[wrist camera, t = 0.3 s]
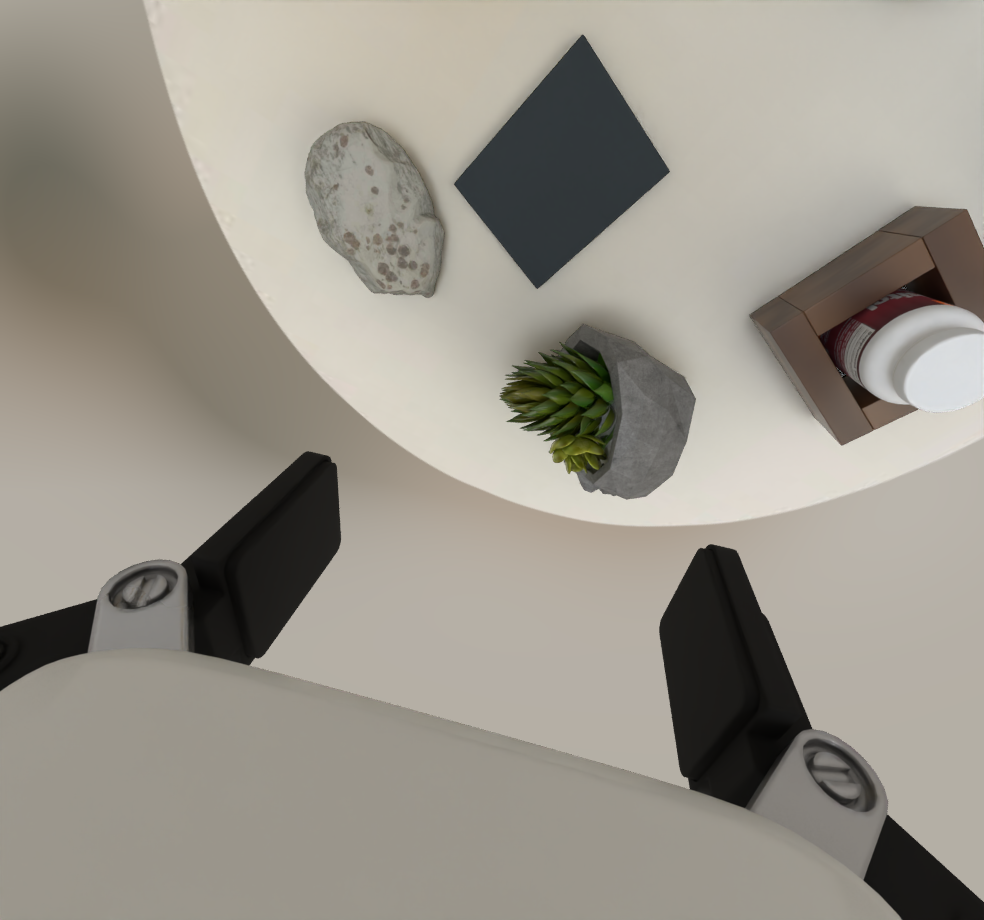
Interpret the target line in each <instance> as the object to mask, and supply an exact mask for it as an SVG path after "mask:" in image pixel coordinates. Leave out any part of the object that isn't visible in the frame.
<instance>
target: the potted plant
mask: <svg viewBox="0 0 984 920" xmlns="http://www.w3.org/2000/svg"><path fill="white" fill-rule="evenodd" d="M560 344H561V345H562V347H563V349H562V350H561V352H560V351H557V350H551V351H553V352H555V353H557V354H559V356H558V357H557V356H554V355H552V354H551V355H552V357H551V356H548V355H546V354H543V353H541V352H538V353H539V354H540V355H541V356H542V357H543V359H544V360H545V361H546V362H547V363H548V364H547V363H539V362H533V361H528V360H524V361H526V362H528V363H524V364H527V365H530V366H532V367H535V368H536V369H535V368H531V367H522V366H513V365H512V366H513V367H515V368H517V369H518V370H519V372H511V373H513V374H511V375H506V376H510V377H516V378H507V379H505V380H521V381H516V382H512V383H508V384H507V385H512V386H509V387H504V388H502V389H504V390H502V391H506V392H503V393H500V394H503V395H500V397H501V398H502V399H500V400H504V401H506V402H505V403H507V404H510V405H508V406H510V407H508V408H511V409H515V410H513V411H511V412H518V413H522V414H519V415H518V416H516V417H514V418H513V419H511V420H509V421H506V422H516V423H527V422H533V421H535V422H533V423H531V424H529V425H527V426H524V427H521V428H520V429H524V430H527V431H544V430H546V431H544V432H542V433H540V434H538V435H545V434H550V435H551V436H550V437H549V438H548V439H546V440H544V441H550V440H555V441H554V442H553V443H552V446H551V448H550V451H549V452H550V454H552V453H553V456H552V458H553V461H554V462H555V463H560V462H562V461H563V460H564V463H565V465H566V470H567V472H568V474H570V472H571V471H574V472H576V473H577V476H578V478H579V481H580V483H581V486H582V487H583V489H584V490H585V491H588V492H593V491H595V490H597V489H600V491H601V492H602V493H603V494H611V495H612V496H616V495H617V496H619V497H622V498H624V499H633V498H639V497H646V496H647V495H649V494H650V493H651V492H652V491H654V490H655V489H656V488H657V487H659V486H660V485H661V484H662V483H664V482H665V481H666V480H667V479H669V478H670V477H671V476H672V475H673V473H674V470H675V468H676V466H677V463H678V461H679V458H680V456H681V454H682V451H683V449H684V446H685V444H686V442H687V437H688V433H689V428H690V423H691V419H692V414H693V410H694V405H695V400H696V398H695V397H694V395H693V393H692V391H691V389H690V387H689V385H688V383H687V381H686V379H685V377H683V376H682V375H680V374H679V373H677V372H675V371H674V370H672V369H671V368H669V367H667V366H666V365H664V364H663V363H661V362H659V361H658V360H656V359H655V358H653V357H651V356H650V355H649V354H647V353H646V352H645V351H644V350H643V349H642V348H641V347H639V346H638V345H637V344H636V343H635V342H633V341H630V340H627V339H624V338H622V337H619V336H616V335H613V334H610V333H607V332H604V331H601V330H598V329H596V328H593V327H590V326H587V325H584V324H583V325H582V326H581V327H580V328H579V329H578V330H577V331H576V332H575V333H574V334H573V335H571V336H570V337H569V338H568V339H567V341H566V343H565V345H564V344H563V343H561V342H560ZM507 404H506V405H507ZM553 451H554V452H553Z"/></svg>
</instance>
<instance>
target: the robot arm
mask: <svg viewBox="0 0 984 920" xmlns="http://www.w3.org/2000/svg"><path fill="white" fill-rule="evenodd" d="M339 515H340V514H339V496H338V479H337V466H336V464H335V463H332V462H331V458H330V457H329V456H326V455H322V454H318V453H313V452H309V451H308V452H305V453H303V454H302V455H301V456H300V457H299V458H298V459H297V460H296V461H295V462H293V464H291V465H290V466H289V467H288V468H287V469H286V470H285V471H283V472H282V473H281V474H280V475H279V476H278V477H277V478H276V479H275V480H274V481H272V482H271V483H270V484H269V485H268V486H267V487H266V488H265V489H264V490H263V491H261V492H260V493H259V494H258V495H257V496H256V497H254V498H253V499H252V500H251V501H250V502H249V503H248V504H247V505H246V506H244V507H243V508H242V509H241V510H240V511H239V512H238V513H237V514H236V515H235V516H234V517H232V518H231V519H230V520H229V521H228V522H227V523H226V524H225V525H224V526H222V527H221V528H220V529H219V530H218V531H217V532H216V533H215V534H214V535H213V536H211V537H210V538H209V539H208V540H207V541H206V542H205V543H204V544H203V545H201V546H200V547H199V548H198V549H197V550H196V551H195V552H194V553H193V554H192V555H190V556H189V557H188V558H187V559H186V560H185V561H184V562H183V563H182V564H179V563H177V562H173V561H170V560H152V561H146V562H142V563H139V564H136V565H133V566H131V567H128V568H127V569H124V570H122V571H120V572H119V573H118V574H117V575H115V576H113V577H112V578H111V579H109V581H108V582H107V583H106V584H105V585H104V586H103V587H102V589H101V591H100V593H99V596H98V599H96V600H93V601H89V602H86V603H82V604H79V605H75V606H72V607H68V608H65V609H61V610H58V611H54V612H51V613H47V614H44V615H40V616H37V617H34V618H30V619H26V620H23V621H20V622H16V623H13V624H9V625H5V626H2V627H0V920H984V902H983V901H982V900H981V899H979V898H978V897H977V896H976V895H975V894H974V893H973V892H972V891H971V890H970V889H969V888H967V887H966V886H965V885H964V884H963V883H962V882H961V881H960V880H959V879H958V878H957V877H955V876H954V875H953V874H952V873H951V872H950V871H949V870H948V869H947V868H945V866H943V865H942V864H941V863H940V862H939V861H938V860H937V859H936V858H935V857H934V856H932V855H931V854H930V853H929V852H928V851H927V850H926V849H925V848H924V847H923V846H921V845H920V844H919V843H918V842H917V841H916V840H915V839H914V838H913V837H912V836H910V835H909V834H908V833H907V832H906V831H905V830H904V829H903V828H902V827H901V826H899V825H898V824H897V823H896V822H895V821H894V820H893V819H892V818H891V817H890V816H889V815H887V809H888V800H887V796H886V793H885V789H884V787H883V785H882V783H881V781H880V780H879V778H878V776H877V774H876V773H875V771H874V770H873V769H872V768H871V766H870V765H869V764H868V763H867V761H866V760H865V759H864V758H863V757H862V756H861V755H860V754H859V753H858V752H856V751H855V750H854V749H853V748H852V747H851V746H849V745H848V744H847V743H845V742H843V741H842V740H841V739H839V738H838V737H836V736H833V735H831V734H829V733H827V732H824V731H820V730H814V729H812V727H811V725H810V722H809V719H808V717H807V715H806V712H805V709H804V707H803V705H802V702H801V700H800V697H799V695H798V692H797V690H796V688H795V685H794V683H793V680H792V678H791V675H790V673H789V670H788V668H787V665H786V663H785V661H784V658H783V655H782V653H781V651H780V648H779V646H778V643H777V641H776V638H775V636H774V633H773V631H772V628H771V626H770V624H769V621H768V620H767V618H766V616H765V615H764V614H763V613H762V612H761V610H760V607H759V605H758V602H757V600H756V597H755V595H754V592H753V590H752V587H751V585H750V582H749V580H748V577H747V575H746V572H745V570H744V567H743V565H742V562H741V560H740V557H739V555H738V553H737V551H736V550H733V549H730V548H725V547H721V546H717V545H712V544H710V545H708V546H707V547H706V548H705V549H703V548H700V549H698V551H697V552H696V554H695V556H694V558H693V560H692V562H691V564H690V566H689V567H688V569H687V571H686V573H685V575H684V577H683V579H682V581H681V582H680V584H679V586H678V588H677V590H676V592H675V594H674V596H673V598H672V599H671V601H670V603H669V605H668V607H667V609H666V611H665V613H664V615H663V617H662V619H661V622H660V627H659V633H660V640H661V647H662V654H663V660H664V667H665V673H666V680H667V687H668V694H669V700H670V707H671V714H672V720H673V727H674V734H675V740H676V747H677V753H678V760H679V767H680V771H681V774H682V775H683V776H684V777H687V778H688V780H689V786H690V789H686V788H683V787H680V786H677V785H673V784H670V783H667V782H663V781H660V780H657V779H653V778H650V777H647V776H644V775H640V774H637V773H634V772H631V771H627V770H624V769H620V768H616V767H613V766H610V765H606V764H603V763H599V762H596V761H592V760H588V759H585V758H582V757H578V756H574V755H571V754H568V753H564V752H561V751H557V750H554V749H550V748H546V747H543V746H540V745H536V744H532V743H529V742H525V741H522V740H518V739H515V738H511V737H508V736H504V735H501V734H497V733H494V732H490V731H486V730H482V729H479V728H476V727H472V726H469V725H465V724H461V723H458V722H454V721H450V720H447V719H444V718H440V717H436V716H433V715H429V714H426V713H422V712H418V711H415V710H411V709H408V708H404V707H401V706H397V705H393V704H390V703H386V702H382V701H379V700H375V699H372V698H368V697H364V696H360V695H357V694H353V693H350V692H346V691H342V690H339V689H335V688H331V687H328V686H324V685H320V684H317V683H313V682H309V681H306V680H302V679H299V678H295V677H291V676H288V675H284V674H280V673H276V672H272V671H268V670H264V669H260V668H256V667H252V666H249V665H250V664H251V662H252V661H253V660H254V658H260V657H262V656H263V655H264V654H265V653H266V651H267V650H268V649H269V647H270V646H271V644H272V643H273V641H274V640H275V639H276V637H277V636H278V634H279V633H280V632H281V630H282V628H283V627H284V626H285V624H286V623H287V622H288V620H289V619H290V618H291V616H292V615H293V613H294V612H295V610H296V609H297V608H298V606H299V605H300V603H301V602H302V601H303V599H304V598H305V596H306V595H307V594H308V592H309V591H310V589H311V588H312V587H313V585H314V584H315V582H316V581H317V579H318V578H319V577H320V575H321V574H322V572H323V571H324V570H325V568H326V567H327V565H328V564H329V563H330V561H331V560H332V558H333V557H334V555H335V554H336V553H337V551H338V549H339V546H340V542H341V531H340V516H339Z"/></svg>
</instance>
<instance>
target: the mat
mask: <svg viewBox="0 0 984 920" xmlns="http://www.w3.org/2000/svg"><path fill="white" fill-rule="evenodd" d="M669 172H670V171H669V169H668V168H667V166H666V165H665V163H664V161H663V160H662V158H661V157H660V155H659V153H658V152H657V150H656V149H655V147H654V146H653V144H652V142H651V141H650V139H649V138H648V136H647V134H646V133H645V131H644V130H643V128H642V127H641V125H640V123H639V122H638V120H637V119H636V117H635V115H634V114H633V112H632V111H631V109H630V108H629V106H628V104H627V103H626V101H625V100H624V98H623V96H622V95H621V93H620V92H619V90H618V89H617V87H616V85H615V84H614V82H613V81H612V79H611V78H610V76H609V74H608V73H607V71H606V70H605V68H604V66H603V65H602V63H601V62H600V60H599V59H598V57H597V55H596V54H595V52H594V51H593V49H592V47H591V46H590V44H589V43H588V41H587V40H586V38H585V36H584V35H582V36H581V37H580V38H579V39H578V40H577V41H576V43H575V44H574V45H573V46H572V47H571V48H570V50H569V51H568V52H567V53H566V54H565V55H564V57H563V58H562V59H561V60H560V61H559V62H558V64H557V65H556V66H555V67H554V68H553V69H552V71H551V72H550V73H549V74H548V75H547V76H546V77H545V79H544V80H543V81H542V82H541V83H540V84H539V86H538V87H537V88H536V89H535V90H534V91H533V93H532V94H531V95H530V96H529V97H528V98H527V100H526V101H525V102H524V103H523V104H522V105H521V107H520V108H519V109H518V110H517V111H516V112H515V113H514V115H513V116H512V117H511V118H510V119H509V120H508V122H507V123H506V124H505V125H504V126H503V127H502V129H501V130H500V131H499V132H498V133H497V134H496V136H495V137H494V138H493V139H492V140H491V141H490V143H489V144H488V145H487V146H486V147H485V148H484V149H483V151H482V152H481V153H480V154H479V155H478V156H477V158H476V159H475V160H474V161H473V162H472V163H471V165H470V166H469V167H468V168H467V169H466V170H465V172H464V173H463V174H462V175H461V176H460V177H459V179H458V180H457V181H456V182H455V183H454V185H455V186H456V187H457V189H458V190H459V191H460V192H461V194H462V195H463V196H464V197H465V199H466V200H467V201H468V203H469V204H470V205H471V206H472V208H473V209H474V210H475V211H476V213H477V214H478V215H479V216H480V218H481V219H482V220H483V222H484V223H485V224H486V225H487V227H488V228H489V229H490V230H491V232H492V233H493V234H494V235H495V237H496V238H497V239H498V240H499V242H500V243H501V244H502V246H503V247H504V248H505V249H506V251H507V252H508V253H509V254H510V256H511V257H512V258H513V259H514V261H515V262H516V263H517V264H518V266H519V267H520V268H521V270H522V271H523V272H524V273H525V275H526V276H527V277H528V278H529V280H530V281H531V282H532V283H533V285H534V286H535V287H536V288H537V289H538V288H539V287H540V286H541V285H542V284H543V283H545V282H546V281H547V280H548V279H549V278H550V277H551V276H553V275H554V274H555V273H556V272H557V271H558V270H559V269H560V268H562V267H563V266H564V265H565V264H566V263H567V262H568V261H569V260H571V259H572V258H573V257H574V256H575V255H576V254H577V253H579V252H580V251H581V250H582V249H583V248H584V247H585V246H586V245H588V244H589V243H590V242H591V241H592V240H593V239H594V238H595V237H597V236H598V235H599V234H600V233H601V232H602V231H603V230H605V229H606V228H607V227H608V226H609V225H610V224H611V223H612V222H614V221H615V220H616V219H617V218H618V217H619V216H620V215H621V214H623V213H624V212H625V211H626V210H627V209H628V208H629V207H631V206H632V205H633V204H634V203H635V202H636V201H637V200H638V199H640V198H641V197H642V196H643V195H644V194H645V193H646V192H647V191H649V190H650V189H651V188H652V187H653V186H654V185H655V184H657V183H658V182H659V181H660V180H661V179H662V178H663V177H664V176H666V175H667V174H668V173H669Z"/></svg>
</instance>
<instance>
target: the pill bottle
mask: <svg viewBox="0 0 984 920" xmlns="http://www.w3.org/2000/svg"><path fill="white" fill-rule="evenodd" d="M818 338H819V340H820V341H821V343H822V345H823V346H824V348H825V350H826V351H827V353H828V355H829V356H830V358H831V360H832V361H833V363H834V365H835V366H836V367H837V368H838V369H840V370H841V371H842V372H844V373H845V374H846V375H847V376H849V377H850V378H852V379H853V380H854V381H856V382H857V383H858V384H860V385H861V386H862V387H864V388H865V389H866V390H867V391H869V392H870V393H872V394H873V395H875V396H876V397H878V398H880V399H882V400H884V401H887V402H890V403H895V404H910V405H912V406H914V407H915V408H918V409H920V410H923V411H927V412H933V413H941V412H950V411H954V410H958V409H961V408H964V407H967V406H969V405H971V404H973V403H975V402H977V401H979V400H980V399H982V398H983V397H984V323H983V322H982V320H981V319H980V318H979V317H977V316H976V315H975V314H973V313H972V312H970V311H968V310H965V309H963V308H960V307H957V306H953V305H950V304H947V303H944V302H941V301H938V300H935V299H932V298H929V297H925V296H923V295H920V294H916V293H913V292H911V291H908V290H905V289H902V288H899V289H897V290H896V291H894V292H892V293H891V294H889V295H887V296H886V297H884V298H882V299H880V300H879V301H877V302H875V303H874V304H872V305H870V306H869V307H867V308H865V309H864V310H862V311H860V312H858V313H857V314H855V315H853V316H852V317H850V318H848V319H847V320H845V321H843V322H842V323H840V324H838V325H837V326H835V327H833V328H831V329H830V330H828V331H826V332H825V333H823V334H821V335H820V336H818Z"/></svg>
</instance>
